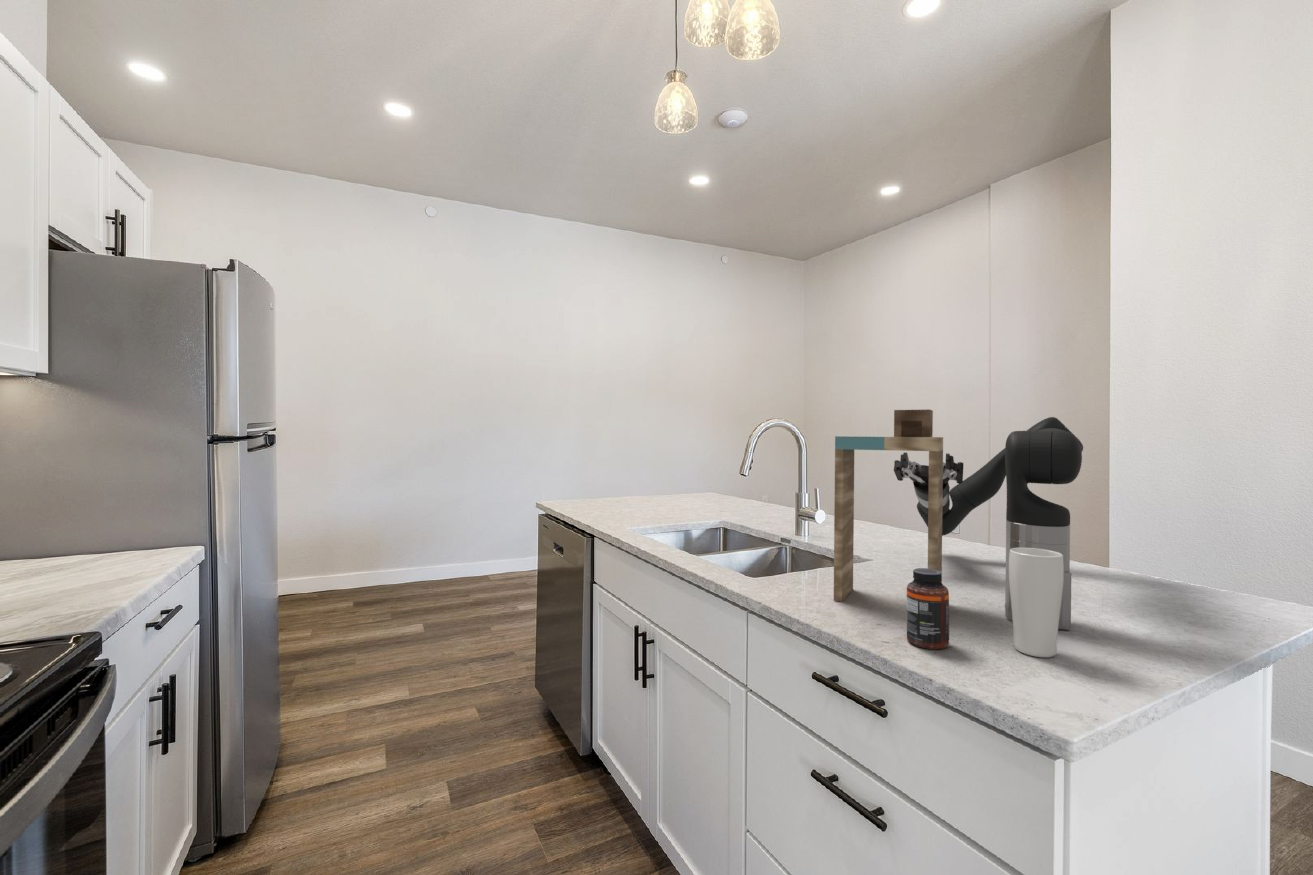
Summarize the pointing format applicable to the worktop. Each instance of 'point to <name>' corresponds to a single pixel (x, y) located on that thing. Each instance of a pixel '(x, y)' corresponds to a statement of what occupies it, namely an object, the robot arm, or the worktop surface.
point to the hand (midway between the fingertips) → (925, 456)
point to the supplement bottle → (927, 610)
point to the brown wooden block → (913, 423)
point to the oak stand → (846, 500)
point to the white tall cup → (1035, 599)
